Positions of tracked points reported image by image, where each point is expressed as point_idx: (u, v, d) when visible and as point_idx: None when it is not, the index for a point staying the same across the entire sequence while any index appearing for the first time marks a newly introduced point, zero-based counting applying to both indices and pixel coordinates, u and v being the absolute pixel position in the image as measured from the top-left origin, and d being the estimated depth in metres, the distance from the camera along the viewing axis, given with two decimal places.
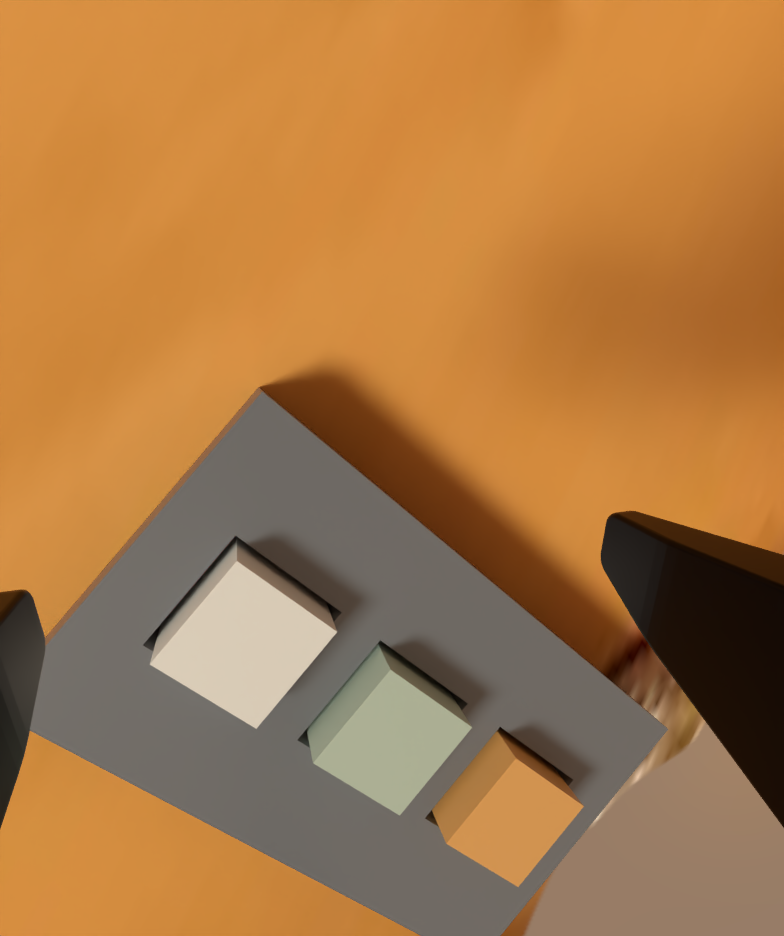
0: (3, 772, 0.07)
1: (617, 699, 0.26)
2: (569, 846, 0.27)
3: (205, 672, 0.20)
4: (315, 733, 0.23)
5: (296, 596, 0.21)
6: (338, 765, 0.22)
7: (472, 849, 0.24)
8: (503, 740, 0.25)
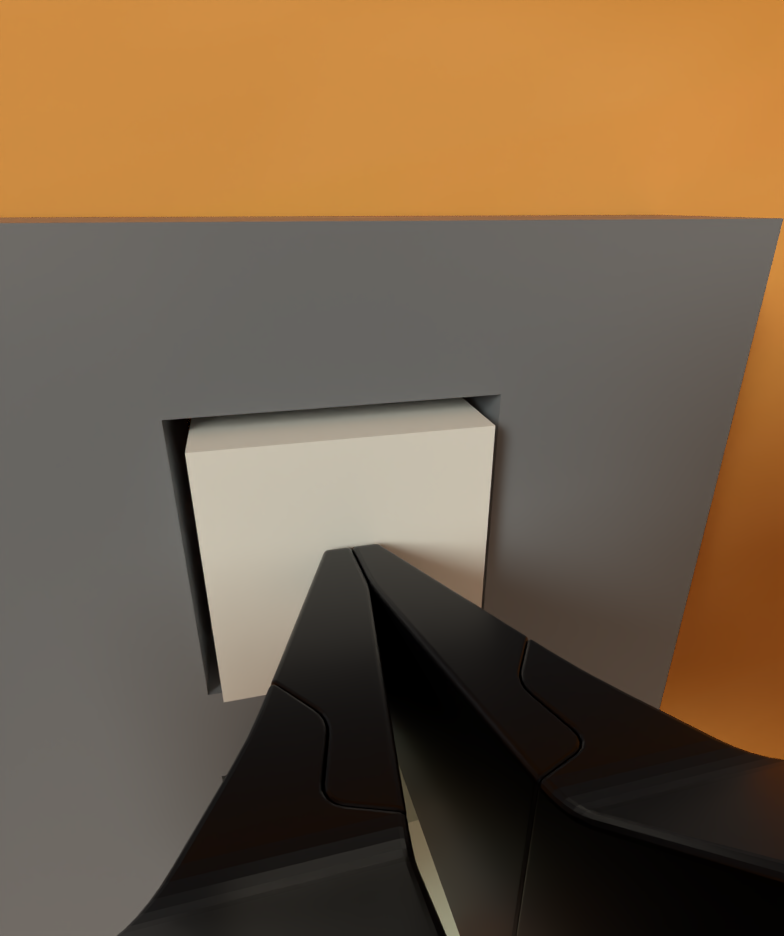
0: None
1: None
2: None
3: (253, 551, 0.09)
4: None
5: None
6: None
7: None
8: None
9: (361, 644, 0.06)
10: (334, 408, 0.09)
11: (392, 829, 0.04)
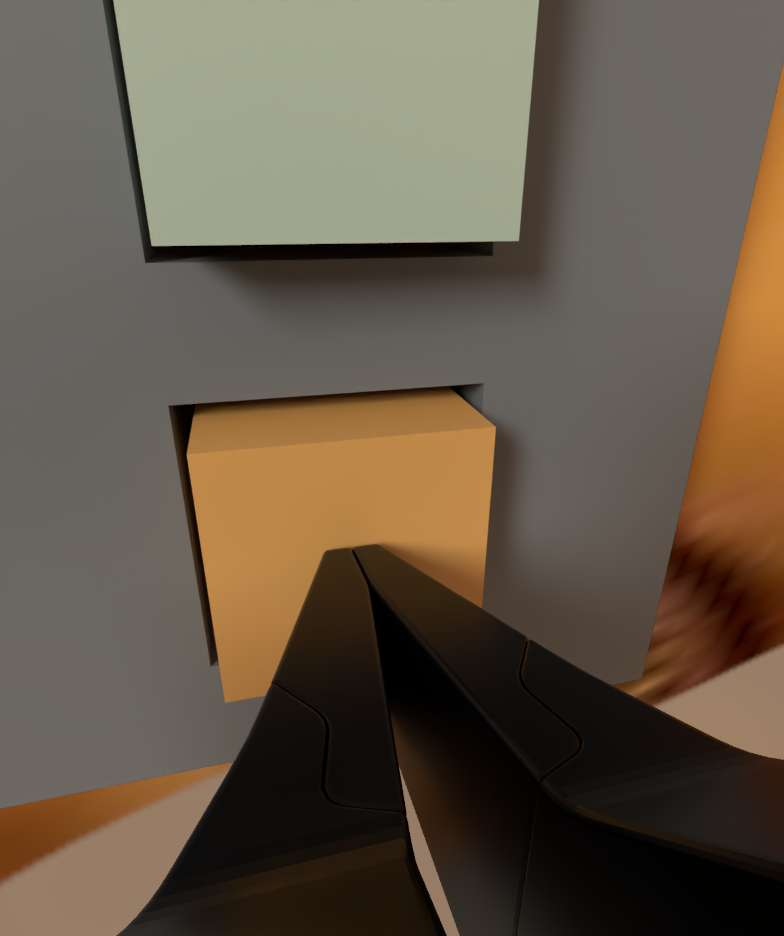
0: None
1: (653, 555, 0.12)
2: None
3: None
4: None
5: None
6: None
7: (224, 529, 0.08)
8: (465, 404, 0.10)
9: (361, 644, 0.06)
10: None
11: (392, 829, 0.04)
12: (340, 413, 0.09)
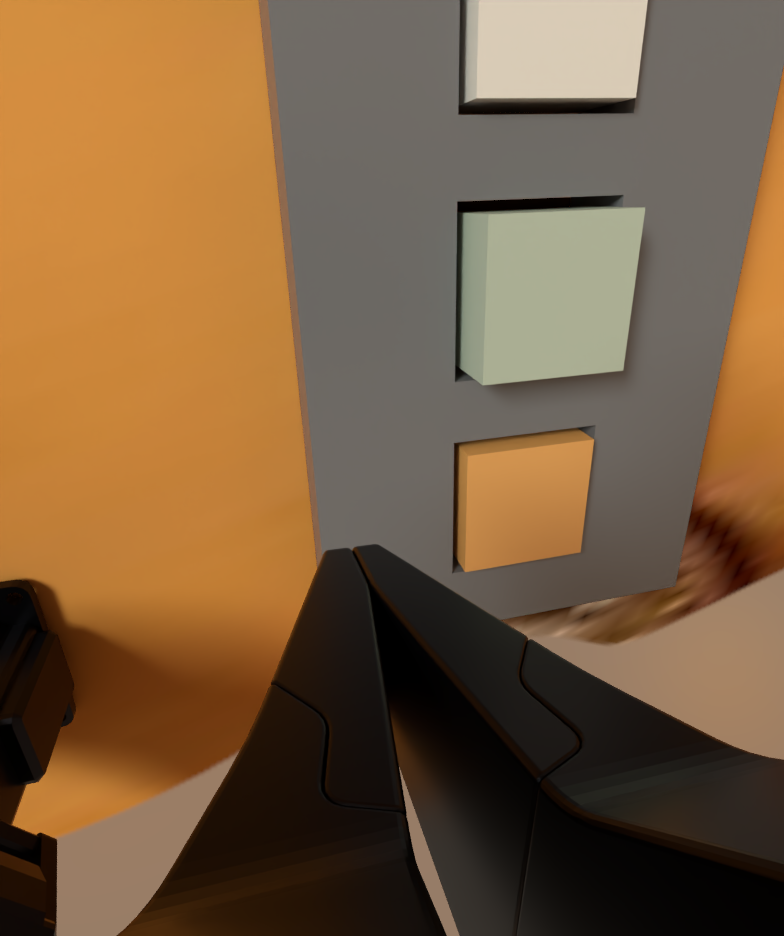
0: None
1: (681, 512, 0.22)
2: (508, 615, 0.22)
3: None
4: (484, 212, 0.16)
5: None
6: (502, 251, 0.15)
7: (477, 488, 0.19)
8: None
9: (361, 644, 0.06)
10: None
11: (392, 829, 0.04)
12: None
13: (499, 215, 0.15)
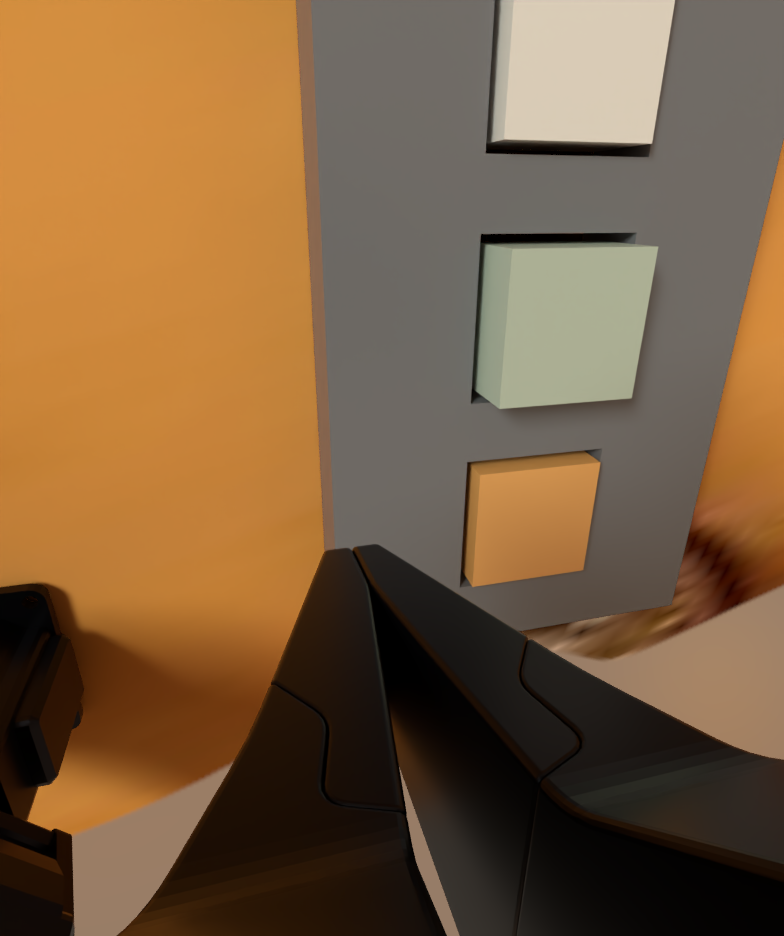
0: None
1: (679, 533, 0.23)
2: None
3: (541, 10, 0.14)
4: (506, 245, 0.17)
5: None
6: (523, 283, 0.16)
7: (487, 506, 0.20)
8: None
9: (361, 644, 0.06)
10: None
11: (392, 829, 0.04)
12: None
13: (522, 249, 0.15)
